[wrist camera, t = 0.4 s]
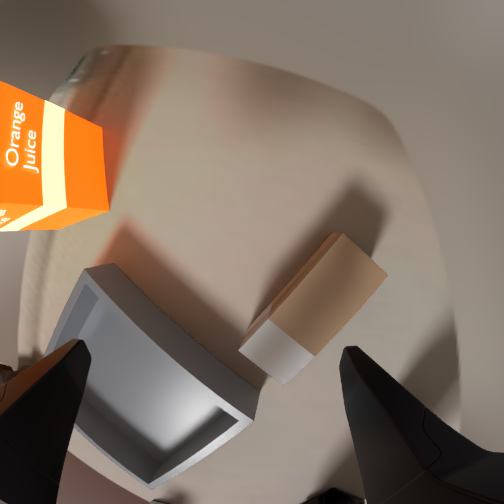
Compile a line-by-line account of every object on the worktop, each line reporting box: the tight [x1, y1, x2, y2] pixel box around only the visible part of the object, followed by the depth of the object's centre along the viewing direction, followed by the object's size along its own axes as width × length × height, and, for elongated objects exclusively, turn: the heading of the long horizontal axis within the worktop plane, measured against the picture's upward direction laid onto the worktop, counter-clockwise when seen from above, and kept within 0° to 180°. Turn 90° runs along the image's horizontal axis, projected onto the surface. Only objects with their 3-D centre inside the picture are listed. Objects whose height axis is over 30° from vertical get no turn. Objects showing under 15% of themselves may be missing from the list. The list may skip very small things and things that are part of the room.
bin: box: [43, 263, 260, 490], centre depth 23 cm, size 18×18×4 cm
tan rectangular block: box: [238, 232, 388, 386], centre depth 20 cm, size 4×10×5 cm, turn 140°
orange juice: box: [0, 81, 109, 231], centre depth 14 cm, size 8×9×20 cm
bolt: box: [0, 364, 29, 387], centre depth 26 cm, size 6×5×15 cm
